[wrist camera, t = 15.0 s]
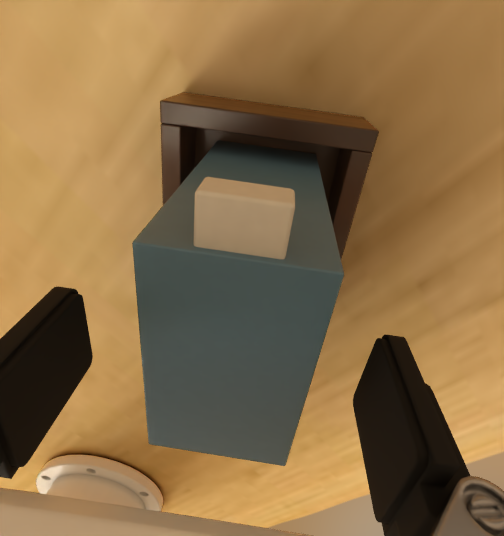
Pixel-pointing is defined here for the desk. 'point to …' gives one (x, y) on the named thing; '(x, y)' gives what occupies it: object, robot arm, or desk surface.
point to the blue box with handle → (236, 302)
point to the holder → (270, 144)
